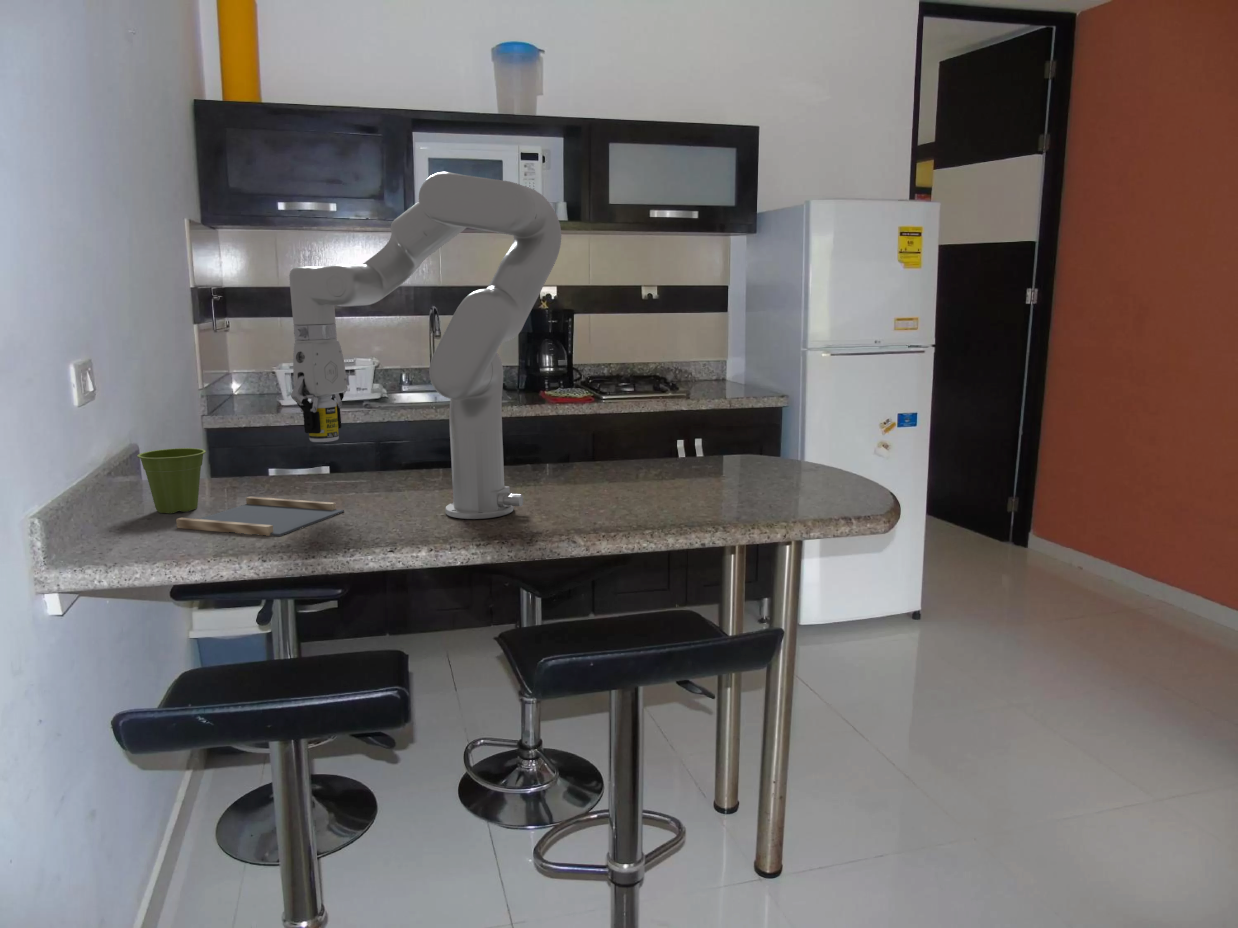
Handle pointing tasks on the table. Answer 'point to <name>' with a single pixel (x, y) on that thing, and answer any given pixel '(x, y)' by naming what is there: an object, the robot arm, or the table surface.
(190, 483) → the plant pot
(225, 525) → the strip left
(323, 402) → the supplement bottle
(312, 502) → the strip right
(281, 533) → the mat
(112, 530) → the table surface
